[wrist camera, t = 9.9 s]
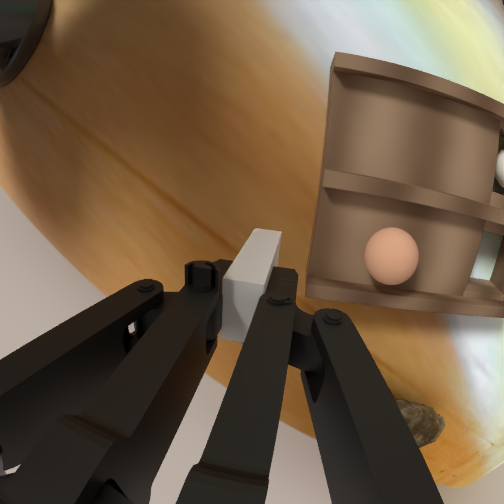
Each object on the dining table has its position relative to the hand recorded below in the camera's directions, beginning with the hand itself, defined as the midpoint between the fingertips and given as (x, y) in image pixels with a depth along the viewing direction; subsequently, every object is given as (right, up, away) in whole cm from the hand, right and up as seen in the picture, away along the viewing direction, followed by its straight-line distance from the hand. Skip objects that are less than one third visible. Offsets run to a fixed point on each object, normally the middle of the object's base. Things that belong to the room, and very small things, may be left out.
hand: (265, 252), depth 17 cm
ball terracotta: (+8, 0, 0) cm, 8 cm away
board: (+14, +4, +3) cm, 15 cm away
